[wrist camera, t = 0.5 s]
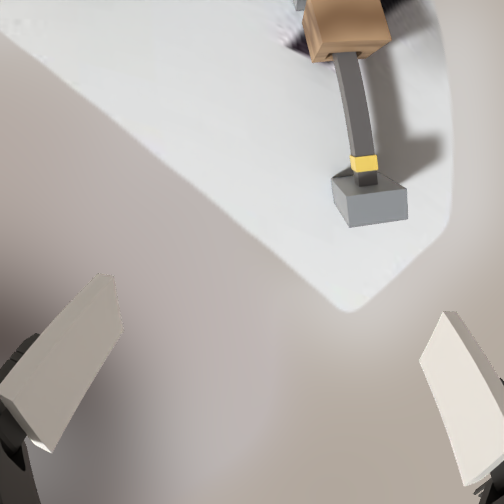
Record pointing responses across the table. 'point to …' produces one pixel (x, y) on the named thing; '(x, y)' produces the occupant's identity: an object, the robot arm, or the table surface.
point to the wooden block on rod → (344, 28)
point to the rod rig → (361, 155)
